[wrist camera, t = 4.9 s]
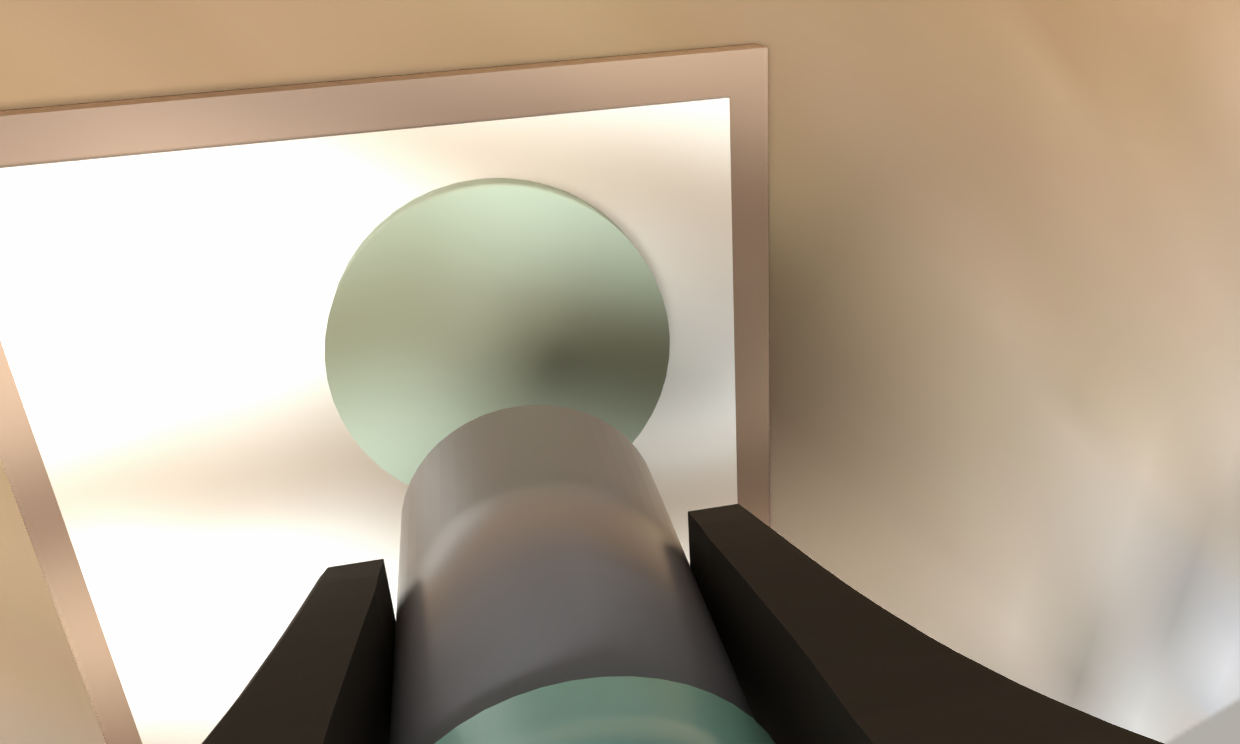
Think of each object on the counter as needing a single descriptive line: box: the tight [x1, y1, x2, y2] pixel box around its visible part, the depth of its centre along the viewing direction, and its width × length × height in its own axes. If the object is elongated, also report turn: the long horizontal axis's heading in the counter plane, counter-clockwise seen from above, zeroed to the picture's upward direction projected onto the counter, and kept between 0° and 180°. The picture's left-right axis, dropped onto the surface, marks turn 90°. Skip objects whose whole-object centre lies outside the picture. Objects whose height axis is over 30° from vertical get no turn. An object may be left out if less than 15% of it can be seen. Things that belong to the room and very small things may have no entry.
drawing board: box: [0, 44, 770, 744], centre depth 20 cm, size 16×15×2 cm
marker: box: [389, 405, 775, 744], centre depth 10 cm, size 4×4×6 cm
